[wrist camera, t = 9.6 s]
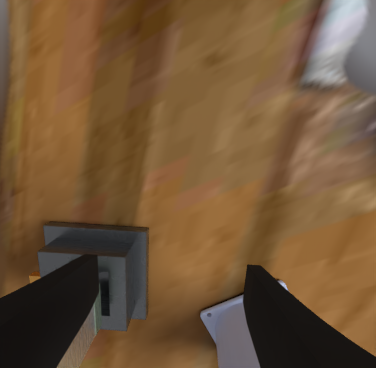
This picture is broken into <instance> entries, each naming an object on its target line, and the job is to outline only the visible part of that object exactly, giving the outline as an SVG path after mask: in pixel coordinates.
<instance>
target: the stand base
mask: <svg viewBox="0 0 376 368" xmlns="http://www.w3.org/2000/svg"><path fill="white" fill-rule="evenodd" d="M43 228H44V237H45V247H43V248H42V249H40V250H39V251H38V252H37V253H38V261H39V269H40V272H33V273H32V274H31V275H30V276H29V279H30V283H32V282H34V281H36V280H38V279H40V278H41V277H43V276H45V275H47V274H49V273H51V272H52V271H54V270H56V269H58V268H60V267H61V266H63V265H65V264H67V263H69V262H70V261H72V260H74V259H76V258H78V257H80V256H82V255H84V254H91V255H97V256H98V274H99V283H100V295H101V315H102V325H101V327H100V329H106V330H119V331H127V328H128V326H129V323H130V320H131V319H143V320H146V317H147V313H148V244H149V228H143V227H127V226H111V225H96V224H80V223H65V222H49V223H47V224H45V225H44V226H43Z"/></svg>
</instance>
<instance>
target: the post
mask: <svg viewBox="0 0 376 368" xmlns="http://www.w3.org/2000/svg"><path fill="white" fill-rule="evenodd" d="M101 325H102V315H101V295H100V283H99V294H98V296H97V298H96V300H95V303H94V305H93V307H92V309H91V311H90V313H89V315H88V317H87V318H86V320H85V322H84V323H83V325H82V327H81V328H80V330H79V332H78V333H77V335H76V337H75V338H74V340H73V341H72V343H71V345H70V346H69V348H68V350H67V351H66V353H65V355H64V356H63V358H62V360H61V361H60V363H59V364H58V366H57V368H79V367H80V365H81V363H82V361H83V359H84V357H85V355H86V353H87V351H88V349H89V347H90V345H91V343H92V341H93V339H94V337H95V335H97V333H98V331H99V329H100V327H101Z"/></svg>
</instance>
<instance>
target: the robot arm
mask: <svg viewBox="0 0 376 368" xmlns="http://www.w3.org/2000/svg"><path fill="white" fill-rule="evenodd" d="M98 294H99V274H98V256H97V255H91V254H84V255H82V256H80V257H78V258H76V259H74V260H72V261H70V262H69V263H67V264H65V265H63V266H61V267H60V268H58V269H56V270H54V271H52V272H51V273H49V274H47V275H45V276H43V277H41V278H40V279H38V280H36V281H34V282H32V283H30V284H28V285H26V286H24V287H22V288H20V289H18V290H16V291H14V292H12V293H10V294H8V295H6V296H4V297H2V298H0V368H57V366H58V364H59V363H60V361H61V360H62V358H63V356H64V355H65V353H66V351H67V350H68V348H69V346H70V345H71V343H72V341H73V340H74V338H75V337H76V335H77V333H78V332H79V330H80V328H81V327H82V325H83V323H84V322H85V320H86V318H87V317H88V315H89V313H90V311H91V309H92V307H93V305H94V303H95V300H96V298H97V296H98ZM208 313H211V314H208ZM200 317H201V319H202V321H203V323H204V324H205V326H206V328H207V330H208V331H209V333H210V335H211V336H212V338H213V340H214V341H215V343H216V345H217V355H218V366H219V368H376V357H375V356H374V355H372V354H370V353H369V352H367V351H366V350H364V349H363V348H361V347H360V346H358V345H357V344H355V343H354V342H352V341H351V340H349V339H348V338H346V337H345V336H344V335H342V334H341V333H340V332H338V331H337V330H335V329H334V328H333V327H331V326H330V325H329V324H327V323H326V322H325V321H323V320H322V319H321V318H319V317H318V316H317V315H316V314H314V313H313V312H312V311H311V310H310V309H308V308H307V307H306V306H305V305H303V304H302V303H301V302H300V301H299V300H298V299H296V298H295V297H294V296H293V295H292V294H291V293H290V292H289V291H288V289H287V287H286V285H285V283H284V282H283V281H277V280H276V279H275V278H273V277H272V276H271V275H270V274H269V273H268V272H267V271H266V270H265V269H264V268H263V267H262V266H260V265H247V271H246V279H245V287H244V294H243V295H241V296H238V297H236V298H233V299H231V300H228V301H226V302H223V303H221V304H218V305H216V306H213V307H211V308H208V309H205V310H203V311H201V313H200Z"/></svg>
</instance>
